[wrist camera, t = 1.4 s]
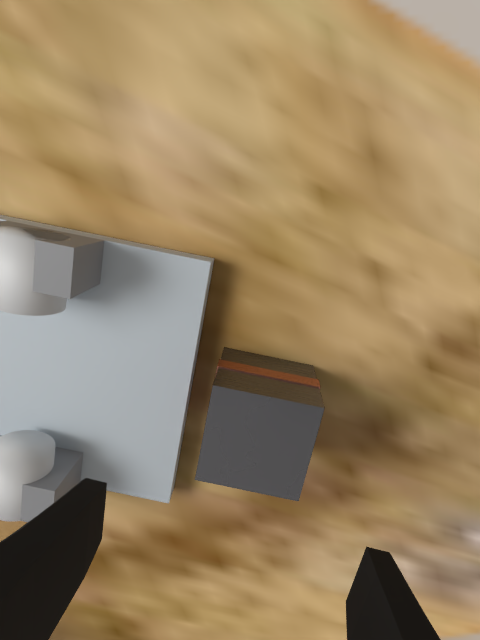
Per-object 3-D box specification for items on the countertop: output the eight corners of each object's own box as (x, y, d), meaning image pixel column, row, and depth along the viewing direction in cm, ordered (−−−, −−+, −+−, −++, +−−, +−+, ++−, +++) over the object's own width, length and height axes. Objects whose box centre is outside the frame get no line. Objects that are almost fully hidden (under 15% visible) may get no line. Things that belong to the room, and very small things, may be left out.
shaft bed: (173, 488, 23) (152, 552, 19) (-72, 436, 23) (-147, 488, 19) (214, 258, 20) (199, 274, 15) (-77, 199, 20) (-171, 198, 16)
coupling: (293, 443, 22) (299, 502, 18) (208, 425, 22) (193, 480, 18) (314, 364, 21) (326, 407, 17) (223, 345, 21) (211, 383, 17)
